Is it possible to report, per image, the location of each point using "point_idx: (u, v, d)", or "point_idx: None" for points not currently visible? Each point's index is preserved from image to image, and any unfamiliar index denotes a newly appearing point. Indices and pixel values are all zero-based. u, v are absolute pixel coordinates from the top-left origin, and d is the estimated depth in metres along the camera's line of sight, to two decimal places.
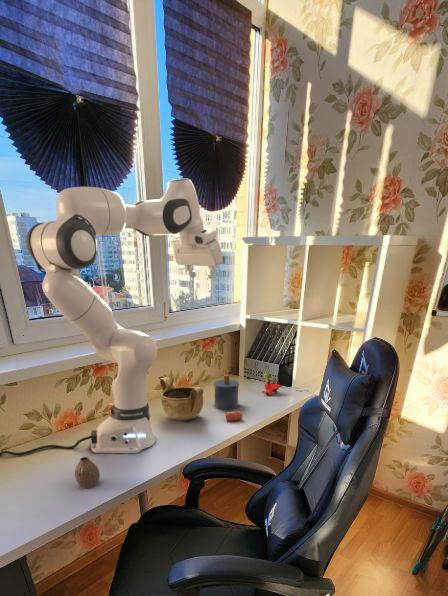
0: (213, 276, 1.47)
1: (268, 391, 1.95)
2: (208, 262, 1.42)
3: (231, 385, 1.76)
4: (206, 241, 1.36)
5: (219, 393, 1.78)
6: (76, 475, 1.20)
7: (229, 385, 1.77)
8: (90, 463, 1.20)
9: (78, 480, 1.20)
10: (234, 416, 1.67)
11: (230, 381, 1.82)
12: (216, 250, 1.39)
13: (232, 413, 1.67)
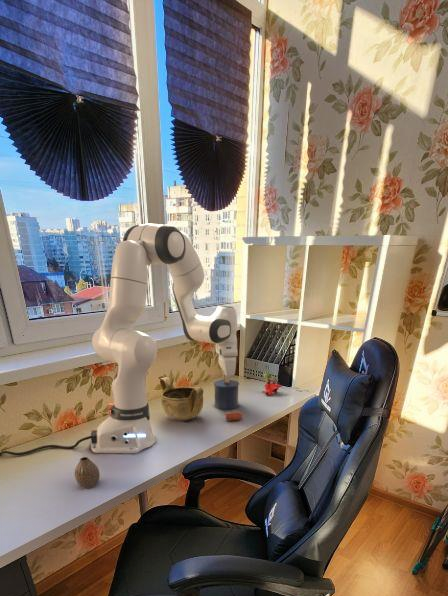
0: (227, 381, 1.77)
1: (268, 391, 1.95)
2: (224, 371, 1.71)
3: (231, 385, 1.76)
4: (223, 355, 1.65)
5: (219, 393, 1.78)
6: (76, 475, 1.20)
7: (229, 385, 1.77)
8: (90, 463, 1.20)
9: (78, 480, 1.20)
10: (234, 416, 1.67)
11: (230, 381, 1.82)
12: (230, 364, 1.66)
13: (232, 413, 1.67)
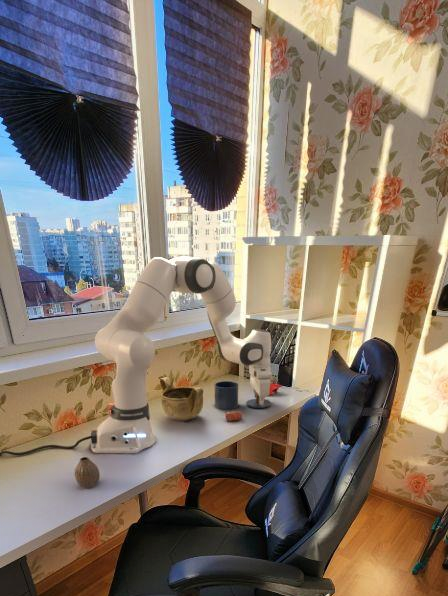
0: (261, 403, 1.79)
1: None
2: (258, 392, 1.75)
3: (264, 405, 1.81)
4: (258, 377, 1.70)
5: (219, 393, 1.78)
6: (76, 475, 1.20)
7: None
8: (90, 463, 1.20)
9: (78, 480, 1.20)
10: (234, 416, 1.67)
11: None
12: (264, 386, 1.71)
13: (232, 413, 1.67)
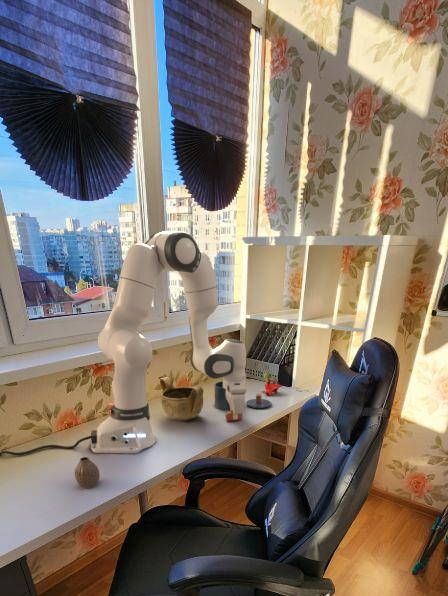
0: (235, 417, 1.66)
1: (268, 391, 1.95)
2: (232, 408, 1.60)
3: (264, 405, 1.81)
4: (231, 392, 1.55)
5: (219, 393, 1.78)
6: (76, 475, 1.20)
7: (262, 404, 1.82)
8: (90, 463, 1.20)
9: (78, 480, 1.20)
10: None
11: (262, 400, 1.87)
12: (238, 402, 1.56)
13: (232, 413, 1.67)
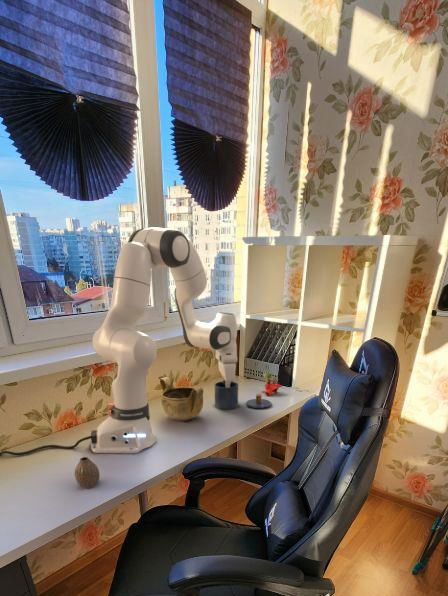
0: None
1: (268, 391, 1.95)
2: (224, 376, 1.72)
3: (264, 405, 1.81)
4: (223, 361, 1.67)
5: (219, 393, 1.78)
6: (76, 475, 1.20)
7: (262, 404, 1.82)
8: (90, 463, 1.20)
9: (78, 480, 1.20)
10: None
11: (262, 400, 1.87)
12: (229, 371, 1.68)
13: None
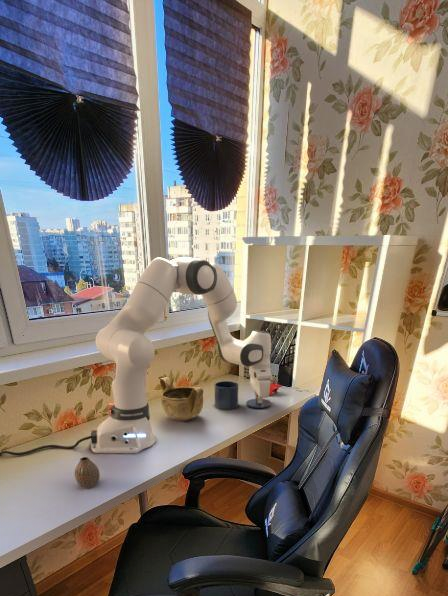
0: (260, 402, 1.82)
1: None
2: (258, 393, 1.75)
3: (264, 405, 1.81)
4: (258, 378, 1.70)
5: (219, 393, 1.78)
6: (76, 475, 1.20)
7: (262, 404, 1.82)
8: (90, 463, 1.20)
9: (78, 480, 1.20)
10: None
11: (262, 400, 1.87)
12: (264, 387, 1.71)
13: None
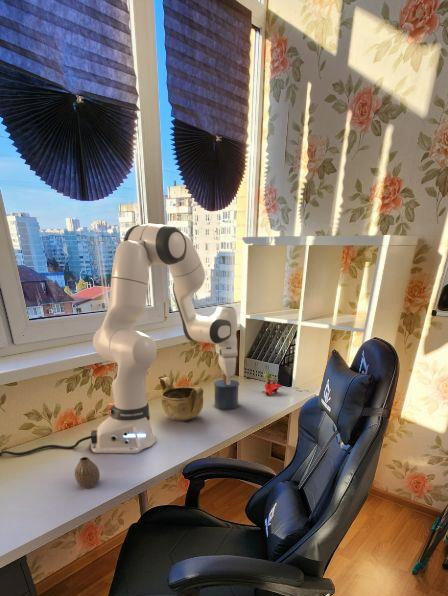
0: (228, 383, 1.74)
1: (268, 391, 1.95)
2: (224, 371, 1.71)
3: (231, 385, 1.76)
4: (223, 355, 1.65)
5: (219, 393, 1.78)
6: (76, 475, 1.20)
7: (229, 385, 1.77)
8: (90, 463, 1.20)
9: (78, 480, 1.20)
10: None
11: None
12: (230, 365, 1.67)
13: None
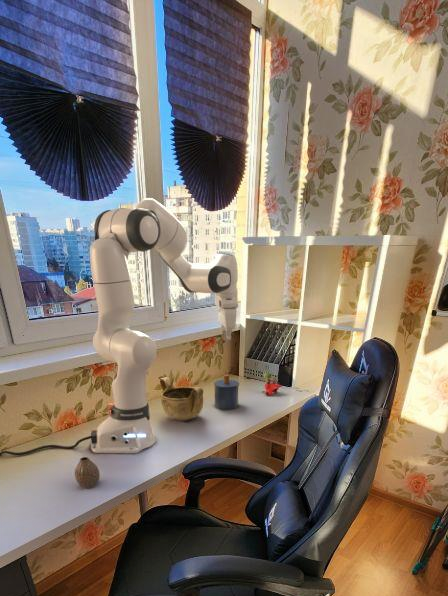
0: (228, 338, 1.66)
1: (268, 391, 1.95)
2: (224, 324, 1.62)
3: (231, 385, 1.76)
4: (223, 306, 1.57)
5: (219, 393, 1.78)
6: (76, 475, 1.20)
7: (229, 385, 1.77)
8: (90, 463, 1.20)
9: (78, 480, 1.20)
10: None
11: (230, 381, 1.82)
12: (230, 316, 1.58)
13: None
